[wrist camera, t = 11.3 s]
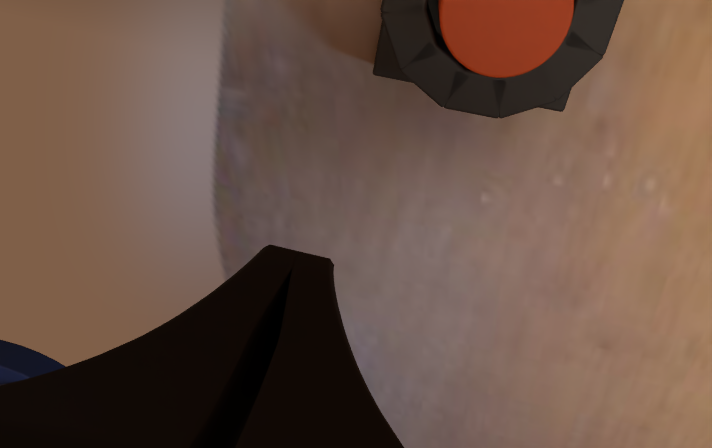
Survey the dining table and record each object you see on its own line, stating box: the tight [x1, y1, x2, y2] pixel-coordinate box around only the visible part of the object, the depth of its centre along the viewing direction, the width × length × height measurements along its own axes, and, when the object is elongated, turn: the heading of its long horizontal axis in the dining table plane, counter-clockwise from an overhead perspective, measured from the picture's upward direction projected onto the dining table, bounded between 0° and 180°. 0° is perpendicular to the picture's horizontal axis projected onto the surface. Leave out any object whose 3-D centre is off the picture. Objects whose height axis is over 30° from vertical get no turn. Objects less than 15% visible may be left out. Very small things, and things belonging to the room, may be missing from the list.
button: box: [438, 0, 574, 78], centre depth 16 cm, size 3×3×2 cm
